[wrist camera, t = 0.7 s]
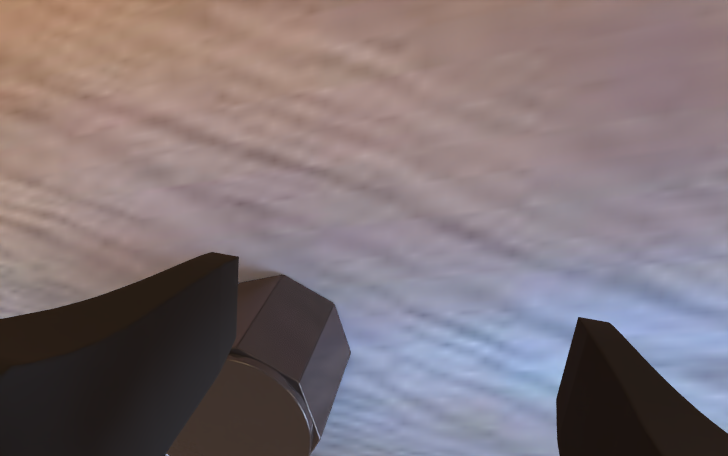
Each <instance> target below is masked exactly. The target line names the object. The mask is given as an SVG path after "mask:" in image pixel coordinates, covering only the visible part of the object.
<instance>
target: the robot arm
mask: <svg viewBox="0 0 728 456" xmlns="http://www.w3.org/2000/svg"><path fill="white" fill-rule="evenodd" d="M238 263H239V257H237V256H231V255H225V254H220V253H214V252H211V253H207V254H204V255H201V256H199V257H196V258H194V259H191V260H189V261H186V262H184V263H181V264H179V265H177V266H174V267H172V268H170V269H167V270H165V271H163V272H160V273H158V274H156V275H153V276H151V277H148V278H146V279H144V280H141V281H138V282H136V283H133V284H130V285H128V286H125V287H122V288H120V289H117V290H114V291H112V292H109V293H106V294H103V295H100V296H97V297H94V298H91V299H88V300H84V301H81V302H77V303H73V304H70V305H66V306H62V307H58V308H54V309H50V310H45V311H40V312H35V313H30V314H24V315H19V316H14V317H9V318H3V319H0V456H165V454H166V453H167V451H168V450H169V448H170V447H171V445H172V444H173V442H174V441H175V439H176V438H177V436H178V435H179V433H180V432H181V430H182V429H183V427H184V426H185V424H186V423H187V421H188V420H189V418H190V417H191V415H192V414H193V412H194V411H195V410H196V408H197V407H198V405H199V404H200V402H201V401H202V399H203V398H204V396H205V395H206V393H207V392H208V390H209V389H210V387H211V386H212V384H213V382H214V381H215V379H216V378H217V376H218V375H219V373H220V371H221V369H222V367H223V365H224V363H225V361H226V359H227V357H228V354H229V352H230V350H231V348H232V346H233V343H234V341H235V339H236V331H237V297H238ZM556 407H557V441H558V448H559V454H560V456H728V433H726V432H725V431H724V430H722V429H721V428H720V427H718V426H717V425H716V424H714V423H713V422H712V421H711V420H709V419H708V418H707V417H706V416H704V415H703V414H702V413H701V412H700V411H699V410H697V409H696V408H695V407H694V406H693V405H692V404H691V403H690V402H688V401H687V400H686V399H685V398H684V397H683V396H682V395H681V394H680V393H678V392H677V391H676V390H675V389H674V388H673V387H672V386H671V385H670V384H669V383H668V382H667V381H666V380H665V379H664V378H663V377H662V376H661V375H660V374H659V373H658V372H657V371H656V370H655V369H654V368H653V367H652V366H651V365H650V364H649V363H648V362H647V361H646V360H645V359H644V358H643V357H642V356H641V355H640V354H639V352H638V351H637V350H636V349H635V348H634V347H633V346H632V345H631V344H630V343H629V342H628V341H627V340H626V339H625V338H624V337H623V335H622V334H621V333H620V332H619V331H618V330H617V329H616V328H615V327H614V326H613V325H611V324H610V323H609V322H603V321H597V320H592V319H586V318H581V317H578V321H577V324H576V328H575V332H574V335H573V339H572V343H571V347H570V350H569V354H568V358H567V361H566V365H565V369H564V373H563V376H562V380H561V384H560V387H559V391H558V395H557V399H556Z"/></svg>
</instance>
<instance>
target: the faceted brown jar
mask: <svg viewBox="0 0 728 456" xmlns="http://www.w3.org/2000/svg"><path fill="white" fill-rule="evenodd" d="M350 354H351V351H350V348H349V345H348V342H347V339H346V336H345V334H344V331H343V328H342V325H341V322H340V319H339V316H338V313H337V310H336V307H335V304H333V302H331V301H329V300H327V299H326V298H324V297H322V296H320V295H319V294H317V293H315V292H313V291H312V290H310V289H308V288H306V287H304V286H303V285H301V284H299V283H297V282H296V281H294V280H292V279H290V278H289V277H287V276H285V275H278V276H273V277H267V278H262V279H257V280H252V281H247V282H242V283H238V297H237V331H236V339H235V341H234V343H233V346H232V348H231V350H230V352H229V354H228V357H227V359H226V361H225V363H224V365H223V367H222V369H221V371H220V373H219V375H218V376H217V378H216V379H215V381H214V382H213V384H212V386H211V387H210V389H209V390H208V392H207V393H206V395H205V396H204V398H203V399H202V401H201V402H200V404H199V405H198V407H197V408H196V410H195V411H194V412H193V414H192V415H191V417H190V418H189V420H188V421H187V423H186V424H185V426H184V427H183V429H182V430H181V432H180V433H179V435H178V436H177V438H176V439H175V441H174V442H173V444H172V445H171V447H170V448H169V450H168V451H167V453H168V455H169V456H309V455H310V454H311V453H312V451H313V450H314V448H315V447H316V445H317V444H318V442H319V441H320V439H321V436H322V433H323V430H324V428H325V425H326V422H327V419H328V416H329V413H330V411H331V408H332V405H333V402H334V399H335V397H336V394H337V391H338V388H339V385H340V382H341V380H342V377H343V374H344V371H345V368H346V365H347V363H348V360H349V357H350Z"/></svg>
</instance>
